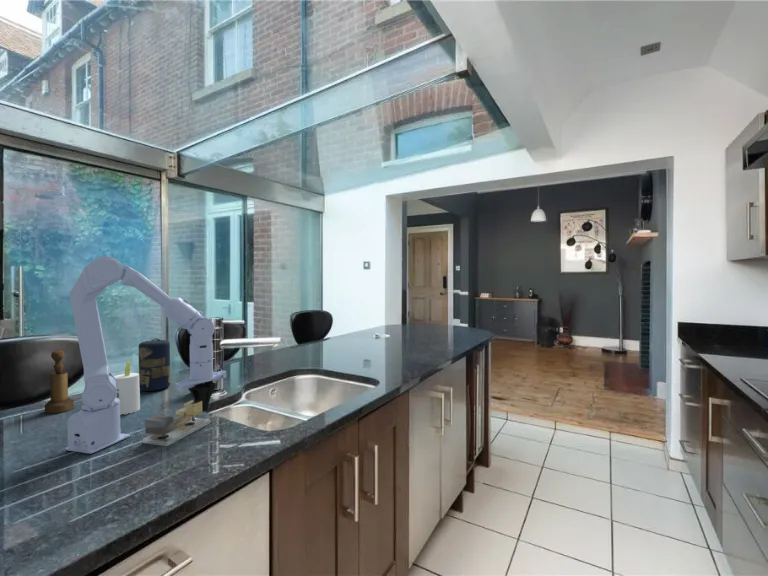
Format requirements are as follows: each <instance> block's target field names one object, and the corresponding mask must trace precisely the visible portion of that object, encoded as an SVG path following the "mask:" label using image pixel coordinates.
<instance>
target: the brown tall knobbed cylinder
mask: <svg viewBox="0 0 768 576" xmlns="http://www.w3.org/2000/svg"><path fill="white" fill-rule="evenodd" d="M65 354H66V353H65V351H64V350H62V349H55V350H54V351H52V352H51V354H50V357H51V358H52V360H53V361H54V365H53V370H54V372H51V373H50V374H49V383H50V384H49V386H50V400H49V401H47V402H46V403H45V404H44V413H45V414H58V413H64V412H65V413H66V412H68V411H71V410H73V409H74V408H75V403H74V402H75V401H74V399H72V398H71V397H69V389H68V387H69V385H68V384H69V383H68V382H69V381H68V377H69V376H68V371H63V369H64V364H63V363H62V361H63V359H64V357H65ZM72 408H73V409H72Z"/></svg>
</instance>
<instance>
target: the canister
mask: <svg viewBox="0 0 768 576" xmlns="http://www.w3.org/2000/svg"><path fill="white" fill-rule="evenodd" d="M138 373H139V387H140V390H141V391H143V392H152V391H153V392H154V391H160V390H161V391H162V390H164V389H166V388H169V386H171V382H172V381H171V344H170V341H169V340H167V339H160V338H155V337H154V338H152V339H151V340H146V341H142V342H140V343H139V344H138Z"/></svg>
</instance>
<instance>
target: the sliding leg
mask: <svg viewBox="0 0 768 576" xmlns="http://www.w3.org/2000/svg"><path fill="white" fill-rule="evenodd" d="M202 413H203V412H202V401H200V400H195V399H191V400H189V401H187V402H185V403H183V407H182V408H180V409H177V410H175V415H176V416H191V417H192V421H195V418H196V417H197V416H198V415H201V414H202Z"/></svg>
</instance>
